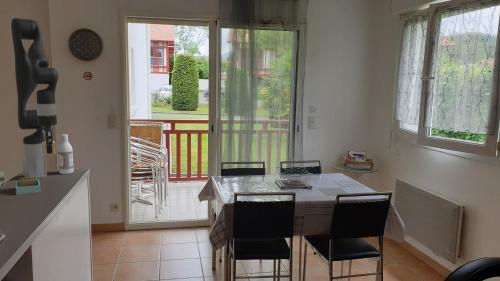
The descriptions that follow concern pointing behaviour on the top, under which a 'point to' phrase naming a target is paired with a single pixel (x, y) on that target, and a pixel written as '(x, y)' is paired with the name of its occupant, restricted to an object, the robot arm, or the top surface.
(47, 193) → the top surface
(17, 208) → the top surface
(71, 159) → the bath foam
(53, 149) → the light box
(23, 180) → the block
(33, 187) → the tote
